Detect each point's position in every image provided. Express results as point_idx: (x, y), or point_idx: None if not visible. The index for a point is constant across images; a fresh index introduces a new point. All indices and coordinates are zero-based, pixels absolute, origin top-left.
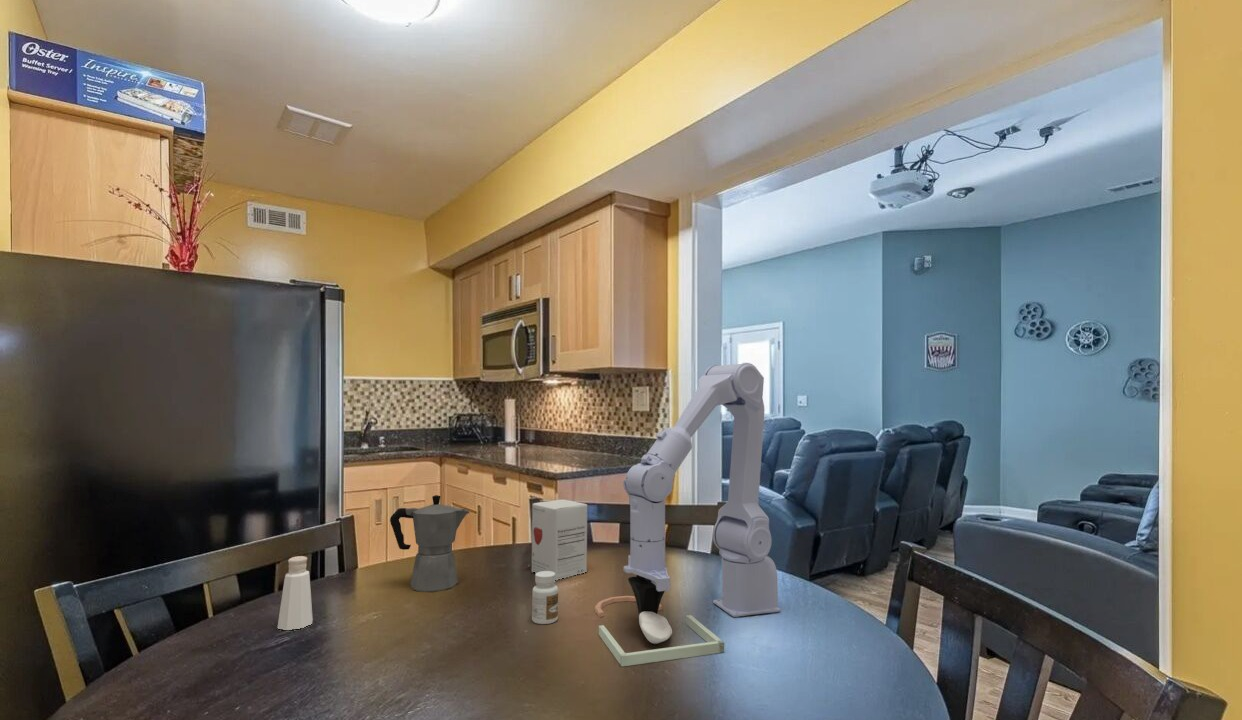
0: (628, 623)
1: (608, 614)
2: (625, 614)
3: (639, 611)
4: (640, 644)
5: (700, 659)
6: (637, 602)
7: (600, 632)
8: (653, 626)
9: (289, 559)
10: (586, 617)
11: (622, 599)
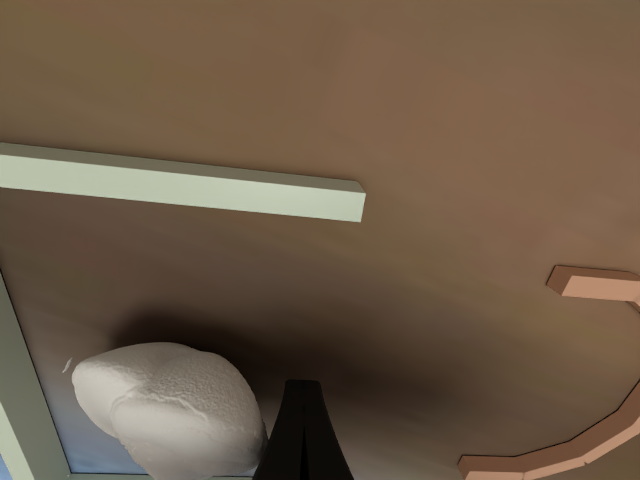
0: (413, 342)
1: (553, 309)
2: (505, 363)
3: (305, 427)
4: (182, 306)
5: None
6: (321, 474)
7: (327, 183)
8: (101, 412)
9: None
10: (598, 209)
11: (635, 404)
